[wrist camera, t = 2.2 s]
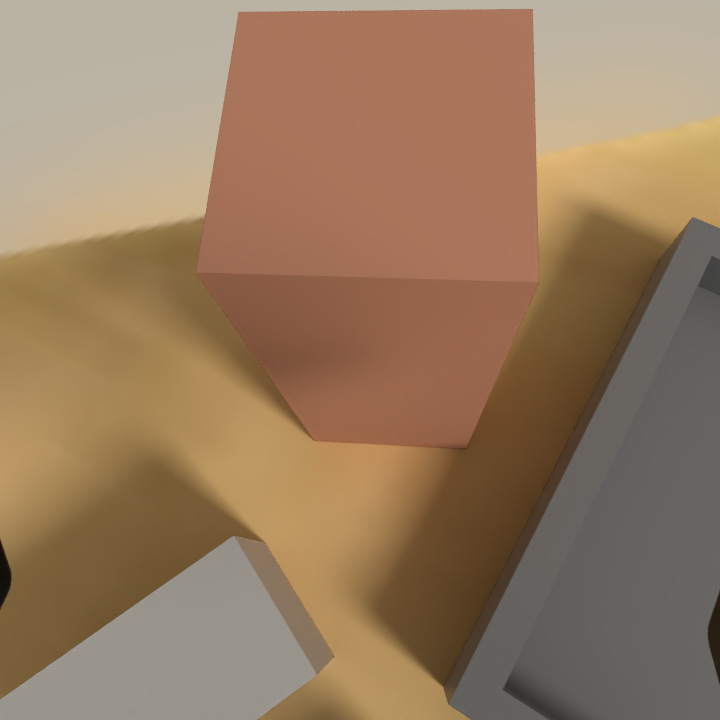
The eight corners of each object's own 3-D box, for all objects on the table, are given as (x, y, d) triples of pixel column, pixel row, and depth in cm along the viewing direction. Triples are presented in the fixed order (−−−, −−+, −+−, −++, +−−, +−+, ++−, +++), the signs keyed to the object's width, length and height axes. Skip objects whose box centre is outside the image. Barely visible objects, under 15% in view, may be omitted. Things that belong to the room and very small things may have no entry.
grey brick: (105, 827, 18) (26, 891, 15) (47, 697, 20) (-40, 726, 16) (335, 655, 19) (317, 675, 16) (266, 543, 21) (233, 535, 17)
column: (466, 448, 21) (539, 282, 9) (314, 440, 21) (195, 272, 10) (467, 307, 22) (532, 8, 11) (326, 303, 23) (238, 12, 11)
